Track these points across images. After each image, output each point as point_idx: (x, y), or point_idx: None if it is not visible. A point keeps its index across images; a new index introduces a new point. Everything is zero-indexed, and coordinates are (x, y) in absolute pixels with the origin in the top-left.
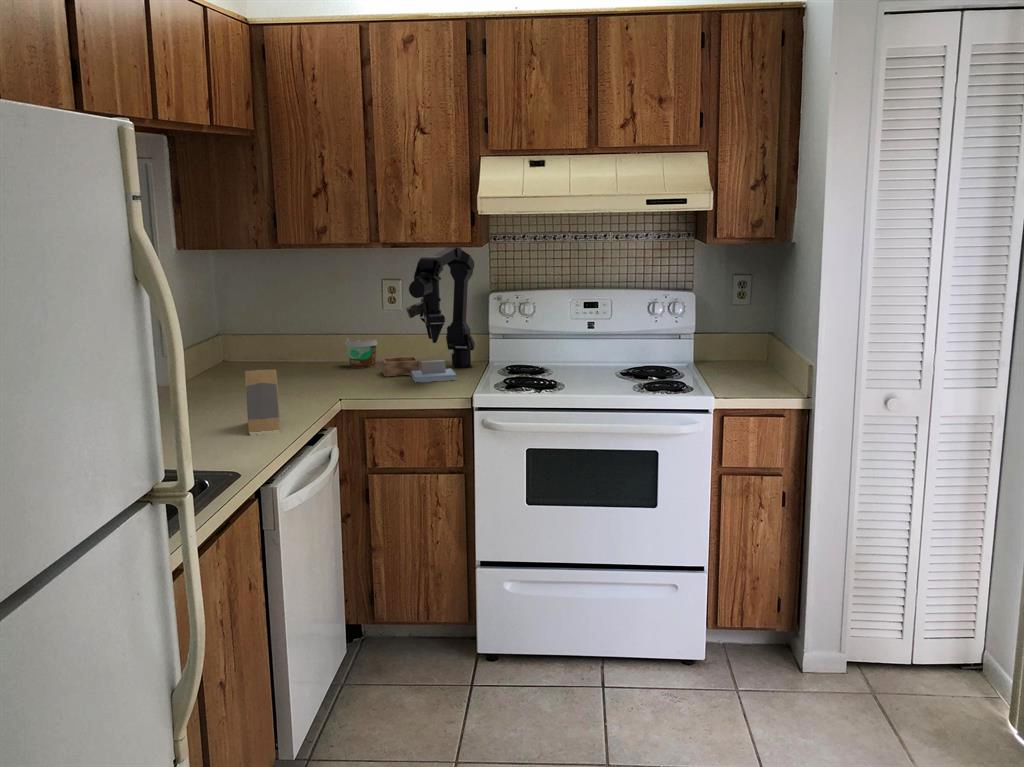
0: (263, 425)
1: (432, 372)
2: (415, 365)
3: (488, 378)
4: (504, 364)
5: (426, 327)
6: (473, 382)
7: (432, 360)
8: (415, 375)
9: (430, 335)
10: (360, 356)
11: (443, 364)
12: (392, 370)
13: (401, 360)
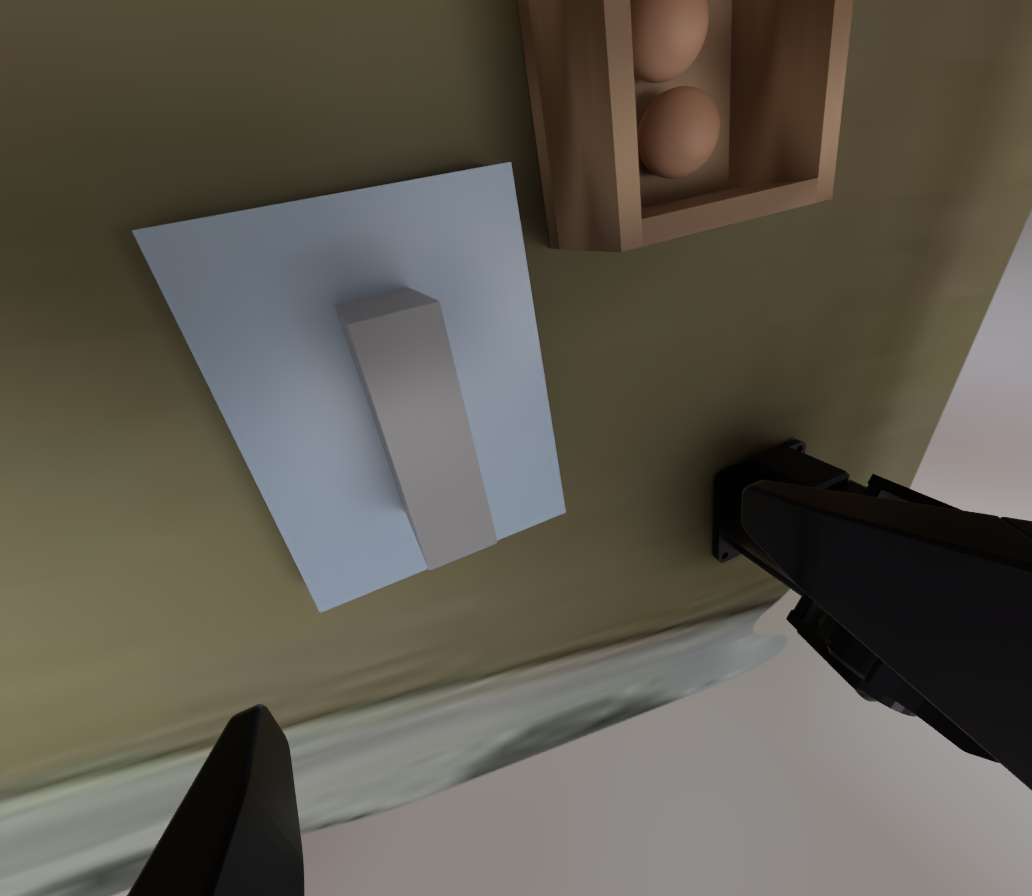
0: None
1: (370, 408)
2: (592, 210)
3: (390, 736)
4: (730, 674)
5: (1021, 567)
6: (240, 707)
7: (471, 435)
8: (239, 229)
9: (790, 538)
10: None
11: (416, 535)
12: None
13: (802, 32)
